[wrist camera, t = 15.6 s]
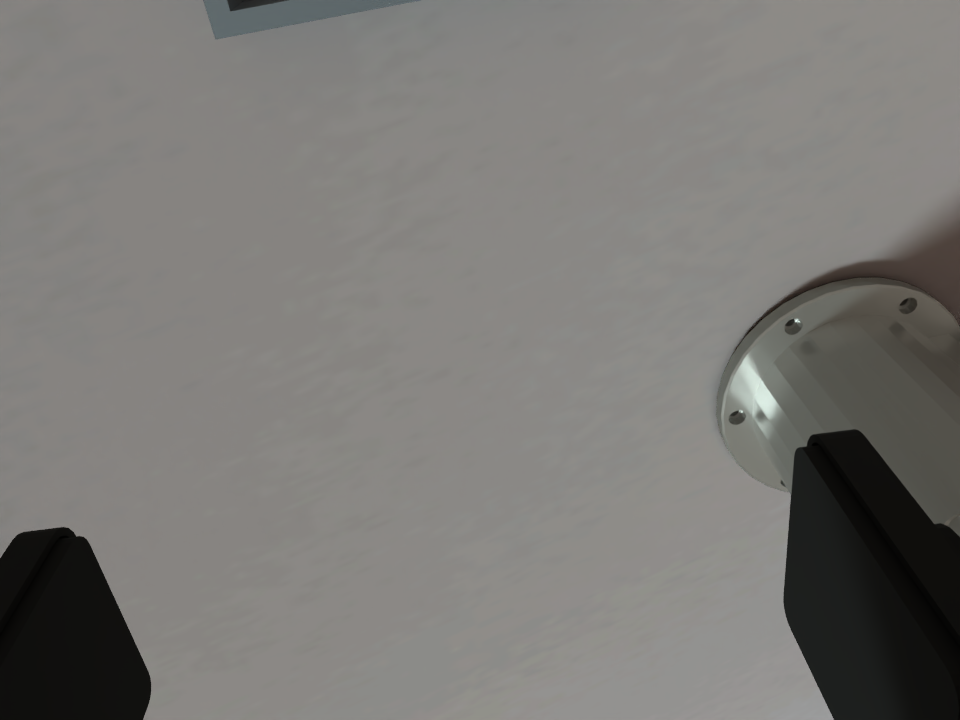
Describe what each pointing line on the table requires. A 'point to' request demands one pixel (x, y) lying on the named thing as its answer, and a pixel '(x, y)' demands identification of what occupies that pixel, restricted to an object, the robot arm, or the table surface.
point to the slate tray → (280, 13)
